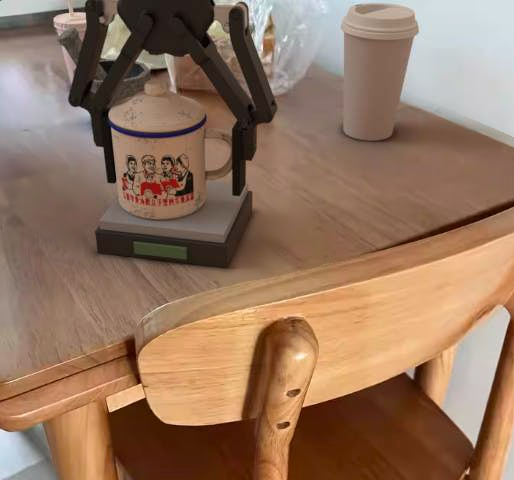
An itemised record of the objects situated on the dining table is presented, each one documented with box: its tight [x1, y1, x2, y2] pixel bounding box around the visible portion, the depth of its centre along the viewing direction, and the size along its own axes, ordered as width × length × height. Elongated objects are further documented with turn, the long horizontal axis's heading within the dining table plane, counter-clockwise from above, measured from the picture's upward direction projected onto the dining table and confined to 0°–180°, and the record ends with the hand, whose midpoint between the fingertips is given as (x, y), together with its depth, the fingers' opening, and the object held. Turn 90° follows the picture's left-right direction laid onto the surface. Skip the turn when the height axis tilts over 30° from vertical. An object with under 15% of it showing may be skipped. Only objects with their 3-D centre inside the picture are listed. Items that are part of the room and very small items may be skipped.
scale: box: [94, 179, 253, 269], centre depth 74 cm, size 13×12×3 cm
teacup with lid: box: [108, 79, 232, 220], centre depth 69 cm, size 12×9×12 cm
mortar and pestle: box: [57, 28, 152, 109], centre depth 95 cm, size 11×9×12 cm
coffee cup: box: [340, 2, 420, 142], centre depth 93 cm, size 10×10×15 cm
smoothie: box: [53, 0, 87, 85], centre depth 105 cm, size 6×6×14 cm
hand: (176, 184), depth 72 cm, fingers closed on teacup with lid, 12 cm apart
